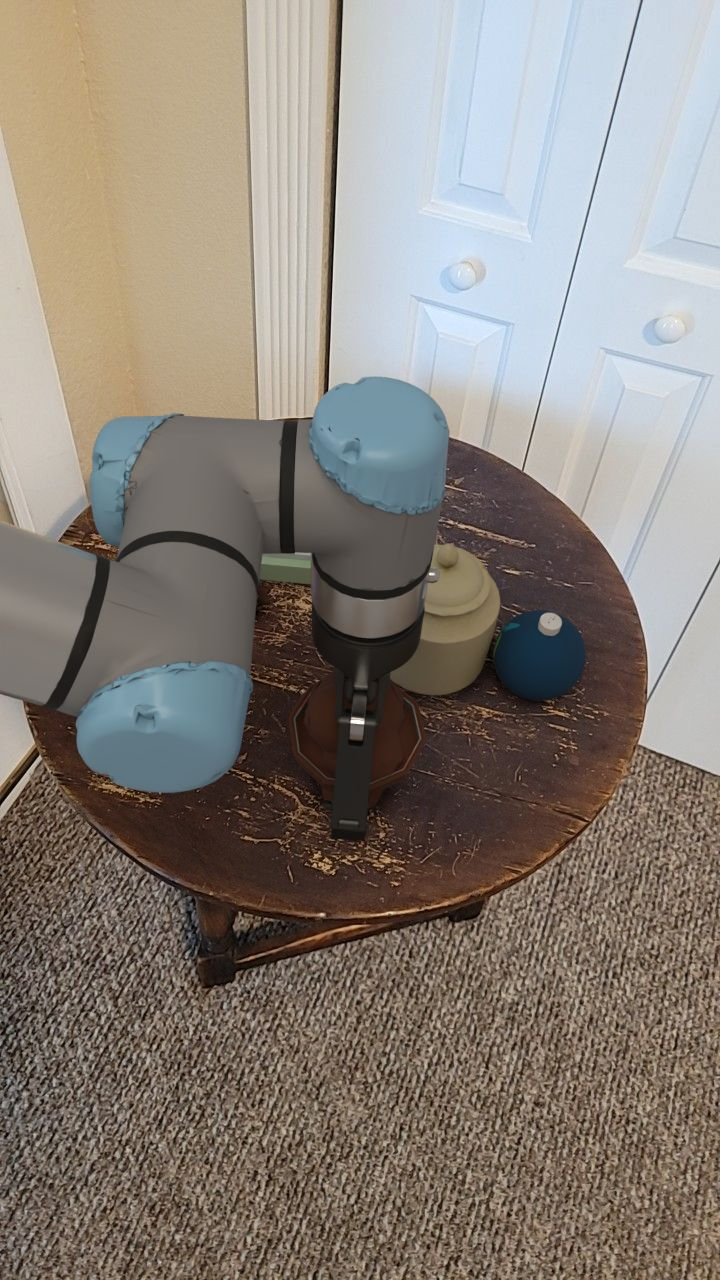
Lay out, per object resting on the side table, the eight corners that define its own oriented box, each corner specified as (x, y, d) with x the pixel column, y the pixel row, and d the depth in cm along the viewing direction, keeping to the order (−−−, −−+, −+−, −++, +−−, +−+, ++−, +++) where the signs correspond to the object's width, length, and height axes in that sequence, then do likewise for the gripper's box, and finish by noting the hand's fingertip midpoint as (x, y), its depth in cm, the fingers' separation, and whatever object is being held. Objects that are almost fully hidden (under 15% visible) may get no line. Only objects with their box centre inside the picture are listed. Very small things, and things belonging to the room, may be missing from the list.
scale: (196, 573, 95) (193, 551, 92) (218, 486, 103) (216, 463, 100) (332, 586, 95) (333, 565, 92) (344, 498, 103) (345, 475, 100)
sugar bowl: (328, 613, 93) (332, 504, 81) (414, 567, 97) (430, 457, 85) (421, 717, 86) (440, 614, 74) (509, 662, 90) (541, 557, 78)
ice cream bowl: (407, 851, 78) (426, 761, 66) (276, 829, 78) (272, 736, 66) (422, 744, 84) (442, 644, 72) (301, 724, 85) (301, 622, 73)
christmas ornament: (528, 632, 92) (549, 565, 85) (591, 687, 89) (620, 622, 81) (468, 675, 89) (485, 609, 81) (532, 734, 85) (556, 671, 77)
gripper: (417, 770, 53) (390, 909, 70) (432, 474, 68) (407, 647, 85) (287, 758, 53) (292, 899, 70) (331, 465, 69) (326, 639, 85)
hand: (355, 761), depth 78 cm, fingers open, 13 cm apart
